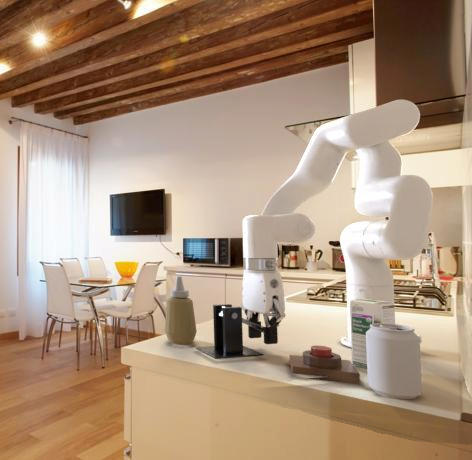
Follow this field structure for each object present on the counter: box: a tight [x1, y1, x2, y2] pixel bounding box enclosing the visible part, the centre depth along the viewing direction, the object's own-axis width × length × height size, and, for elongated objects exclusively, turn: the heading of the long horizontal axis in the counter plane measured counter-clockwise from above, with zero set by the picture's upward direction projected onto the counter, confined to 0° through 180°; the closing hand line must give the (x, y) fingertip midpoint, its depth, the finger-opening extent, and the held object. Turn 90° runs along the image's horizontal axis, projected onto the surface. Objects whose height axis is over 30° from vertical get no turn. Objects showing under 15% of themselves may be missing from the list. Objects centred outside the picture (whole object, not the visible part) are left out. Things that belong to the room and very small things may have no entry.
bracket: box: [195, 303, 264, 360], centre depth 99 cm, size 12×9×12 cm
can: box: [366, 323, 423, 400], centre depth 74 cm, size 8×8×12 cm
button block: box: [288, 349, 361, 385], centre depth 84 cm, size 11×9×4 cm
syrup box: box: [350, 299, 396, 369], centre depth 86 cm, size 6×6×14 cm
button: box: [310, 345, 333, 358], centre depth 84 cm, size 4×4×2 cm
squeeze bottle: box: [164, 276, 197, 345], centre depth 109 cm, size 8×8×18 cm
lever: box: [218, 306, 265, 334], centre depth 99 cm, size 12×5×2 cm, turn 98°
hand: (262, 339), depth 100 cm, fingers closed on lever, 5 cm apart
